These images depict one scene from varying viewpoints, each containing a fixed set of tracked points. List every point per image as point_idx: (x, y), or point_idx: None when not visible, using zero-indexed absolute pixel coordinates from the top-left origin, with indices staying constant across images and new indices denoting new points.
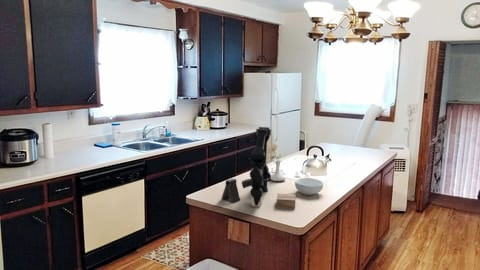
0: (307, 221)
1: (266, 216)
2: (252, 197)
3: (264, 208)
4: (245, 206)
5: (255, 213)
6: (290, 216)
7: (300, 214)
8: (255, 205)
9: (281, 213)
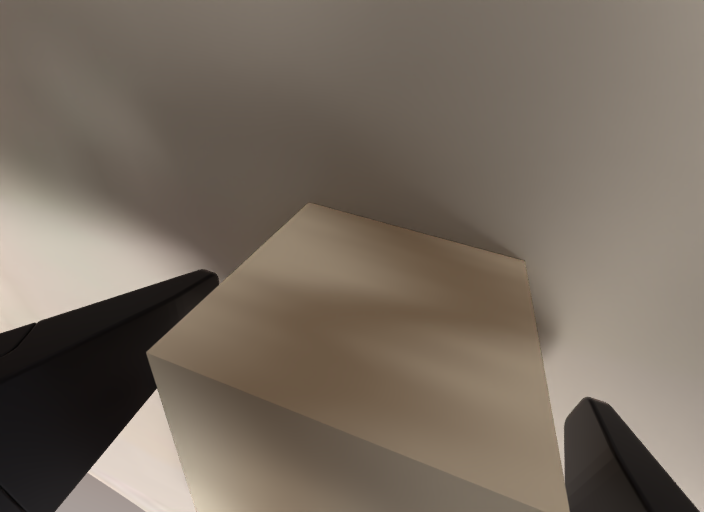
0: (89, 472)
1: (13, 294)
2: (157, 354)
3: None
4: (244, 30)
5: (13, 195)
6: (117, 446)
7: (177, 503)
8: (205, 272)
9: (146, 427)
